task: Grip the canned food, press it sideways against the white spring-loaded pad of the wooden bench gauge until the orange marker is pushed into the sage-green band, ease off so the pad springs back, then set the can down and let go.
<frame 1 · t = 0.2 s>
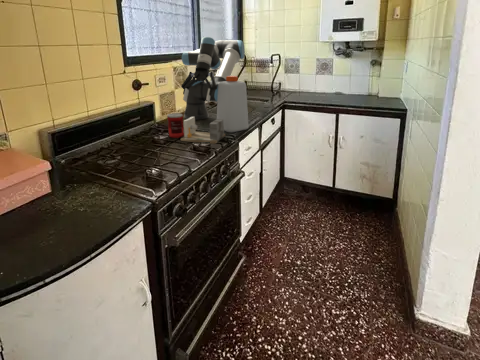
hand: (196, 100, 184), 16 cm above the worktop, tool tilted 35°, fingers open, 13 cm apart
canned food: (176, 136, 179), on the worktop
gauge base: (203, 138, 175), on the worktop
plastic bottle: (232, 129, 193), on the worktop
max marker: (189, 132, 169), point 4 cm above the worktop, slide at 0.0 cm
spring pad: (191, 127, 173), point 5 cm above the worktop, slide at 0.0 cm
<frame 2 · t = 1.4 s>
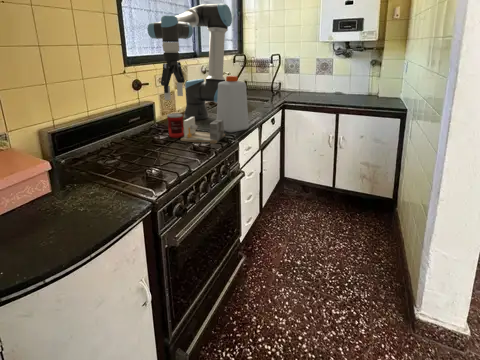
hand: (174, 97, 171), 19 cm above the worktop, tool pointing down, fingers open, 13 cm apart
nothing on the worktop moved.
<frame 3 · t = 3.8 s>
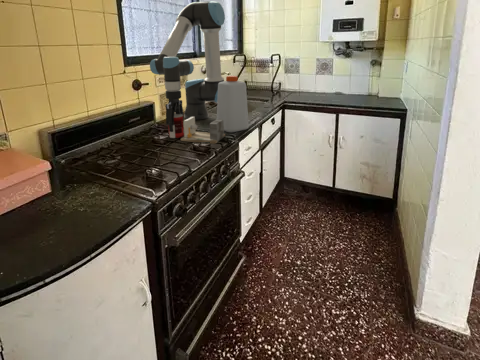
hand: (176, 135, 178), 0 cm above the worktop, tool pointing down, fingers closed on canned food, 8 cm apart
canned food: (176, 136, 179), on the worktop, touching gripper
everything else where it was.
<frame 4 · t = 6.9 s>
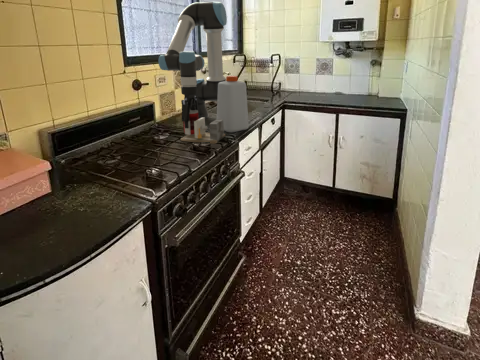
hand: (191, 132, 175), 3 cm above the worktop, tool pointing down, fingers closed on canned food, 8 cm apart
canned food: (191, 133, 175), point 2 cm above the worktop, touching gripper, spring pad
max marker: (199, 133, 167), point 4 cm above the worktop, slide at 5.3 cm, touching spring pad
spring pad: (201, 128, 172), point 5 cm above the worktop, slide at 5.5 cm, touching canned food, max marker
everything else where it was.
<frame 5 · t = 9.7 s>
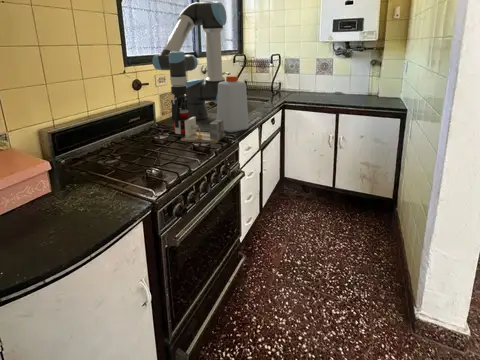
hand: (181, 131, 177), 3 cm above the worktop, tool pointing down, fingers closed on canned food, 8 cm apart
canned food: (182, 132, 177), point 2 cm above the worktop, touching gripper
max marker: (199, 133, 167), point 4 cm above the worktop, slide at 5.4 cm
spring pad: (192, 127, 173), point 5 cm above the worktop, slide at 0.5 cm
everything else where it was.
when the fingers open (2 cm above the worktop, at t = 11.3 s): canned food drops 1 cm, on the worktop.
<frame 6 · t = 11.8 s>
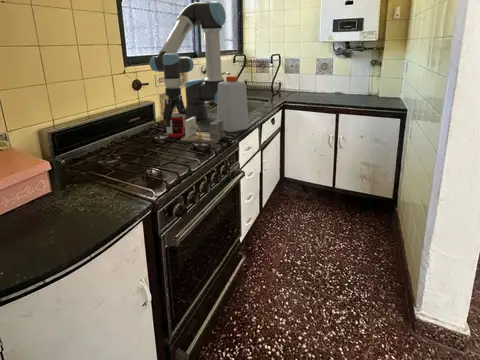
hand: (176, 129, 177), 3 cm above the worktop, tool pointing down, fingers open, 13 cm apart
canned food: (176, 136, 179), on the worktop
everything else where it was.
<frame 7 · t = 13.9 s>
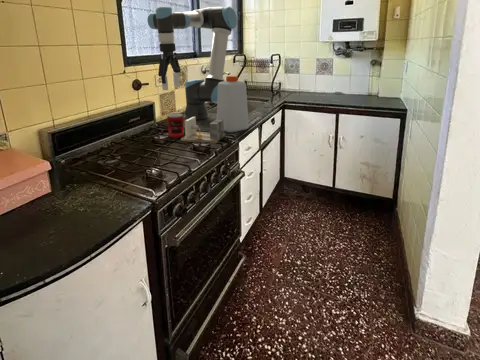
hand: (171, 87, 176), 23 cm above the worktop, tool pointing down, fingers open, 13 cm apart
nothing on the worktop moved.
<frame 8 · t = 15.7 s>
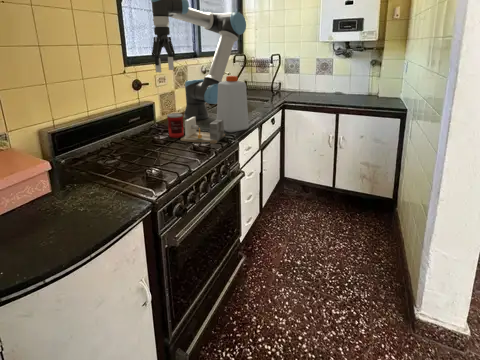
hand: (165, 71, 180), 31 cm above the worktop, tool pointing down, fingers open, 13 cm apart
nothing on the worktop moved.
at the end: max marker slide at 5.4 cm; spring pad slide at 0.5 cm; canned food inside the target area (0.1 cm from its centre), on the worktop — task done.
